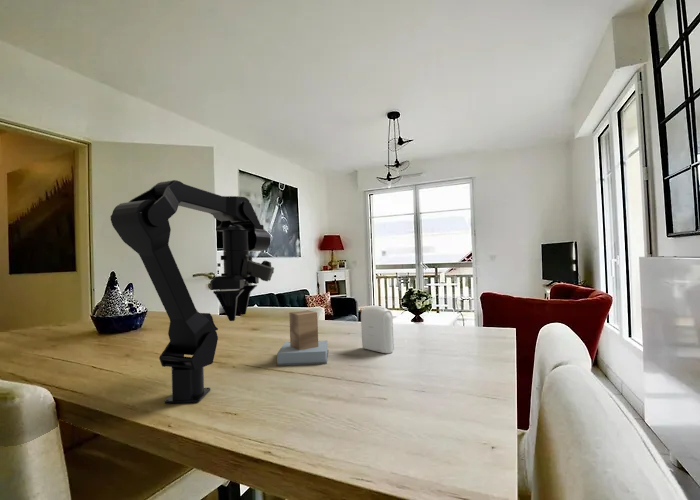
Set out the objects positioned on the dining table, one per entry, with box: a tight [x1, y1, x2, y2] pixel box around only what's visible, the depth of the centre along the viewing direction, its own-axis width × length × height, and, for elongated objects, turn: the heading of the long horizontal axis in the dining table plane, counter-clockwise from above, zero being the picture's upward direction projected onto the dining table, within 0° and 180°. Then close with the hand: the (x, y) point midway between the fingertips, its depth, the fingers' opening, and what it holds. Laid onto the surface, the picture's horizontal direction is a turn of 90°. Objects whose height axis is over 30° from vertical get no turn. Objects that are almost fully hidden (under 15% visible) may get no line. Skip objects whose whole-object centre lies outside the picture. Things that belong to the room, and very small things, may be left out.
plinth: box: [276, 340, 329, 367], centre depth 97 cm, size 12×12×3 cm
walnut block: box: [288, 310, 319, 350], centre depth 97 cm, size 6×6×9 cm
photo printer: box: [360, 305, 395, 354], centre depth 102 cm, size 10×4×12 cm, turn 39°
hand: (238, 317), depth 86 cm, fingers open, 9 cm apart
